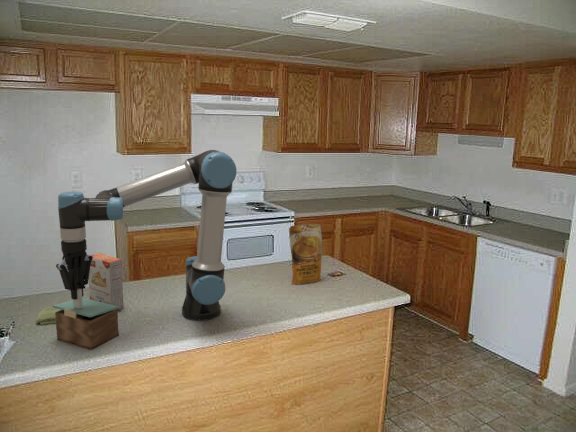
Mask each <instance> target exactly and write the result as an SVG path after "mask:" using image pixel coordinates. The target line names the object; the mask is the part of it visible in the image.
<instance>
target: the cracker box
mask: <svg viewBox="0 0 576 432" xmlns="http://www.w3.org/2000/svg"><path fill="white" fill-rule="evenodd" d="M89 255H90V256H93V259H92V261H91V265H90V272H89V280H88V291H89V299H90V300H94V301H98V302H102V303H106V304H111V305H115V306H119V309H121V310H122V309H123V308H124V292H123V290H124V289H123V271H122V270H123V269H122V268H123V267H122V259H121V258H118V257H114V256H110V255H107V254H102V253H101V252H98V253H94V254H89Z"/></svg>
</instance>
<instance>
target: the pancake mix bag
mask: <svg viewBox="0 0 576 432" xmlns="http://www.w3.org/2000/svg"><path fill="white" fill-rule="evenodd" d="M322 233H323V232H322V224H320V222H316V223H314V222H313V223H306V224H305V223H303V224H296V225H291V226H290V227H289V228H288V234H289V235H288V236H289V237H288V238H289V247H290V254H291V255H290V256H291V269H292V279H291V285H296V284H297V285H296V286H299V285H298V284H300V285H306V284H305V283H307V284H312V283H311V282H314V283H318V282H317V281H320V279H321V280H322V277H321V274H322V259H323V235H322Z"/></svg>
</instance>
